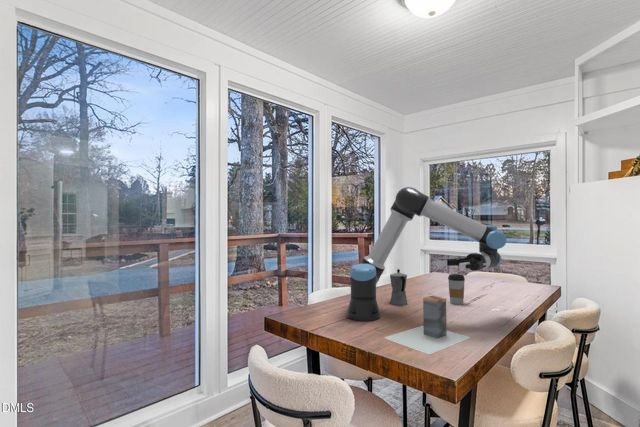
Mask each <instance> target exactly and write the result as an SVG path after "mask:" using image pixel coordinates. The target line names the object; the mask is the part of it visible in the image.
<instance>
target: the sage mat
mask: <svg viewBox="0 0 640 427" xmlns="http://www.w3.org/2000/svg"><path fill="white" fill-rule="evenodd" d="M471 338H472V336H471V337H470V336H467V335H463V334H460V333H456V332H453V331H450V330H447V335H446V336H444V337H441V338H438V339H436V338H433V337H430V336H427V335H424V328H423V325H420V326H417V327H413V328H410V329H407V330H404V331H400V332H397V333H394V334H391V335H388V336H387V335H386V336H385V337H383V339H384V340H388V341H390V342H393V343H396V344H399V345H401V346H404V347H407V348H410V349H412V350H415V351H418V352H421V353H423V354H427V355H432V354H434V353H436V352H440V351H442V350H445V349H446V348H449V347H452V346H454V345H457V344H459V343H461V342H465V341H467V340H468V339H471Z"/></svg>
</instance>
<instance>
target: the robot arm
mask: <svg viewBox="0 0 640 427" xmlns="http://www.w3.org/2000/svg"><path fill="white" fill-rule="evenodd" d="M394 199H395V200H394V202H393V203H392V205H391V207H390V209H389V210H390V213H391V214H390V215H389V217H388V219H387V221H386V223H385V225H384V226H383V228H382V230H381V232H380V233H379V235H378V236H377V239H376V241H375V243H374V245H373V246H372V248H371V250H370V252H369V254H368V255H366V256H363V259H362V260H361V262H360V263H357V264H353V265H352V266H351V268H350V272H349V274H350V275H349V276H350V299H349V300H350V301H349V304H348V307H347V311H346V317H347V318H349V319H350V320H354V321H358V322H359V321H360V322H363V321H364V322H371V321H375V320H379V319H380V318H381V311H380V308H379V305H378V302H377V301H378V300H377V284H378V282H379V281H380V278H381V277H382V275H383V273H384V271H385V269H386V268H385V262H386V261H387V259H388V258H389V256H390V253H391V252H392V250H393V249H394V247H395V245H396V243H397V241H398V239H399V237H400V236H401V234H402V233H403V230H404V228H405V226H406V224H407V223H408V222H410V221H413V219H414V217H415V215H416V216H418V217H422V216H423V217H426V218H427V219H430V220H431V221H433V222H436V223H438V224H440V225H443V226H444V227H446V228H448V229H451V230H453V231H455V232H457V233H460V234H461V235H463V236H465V237H468V238H470V239H471V240H473V241H474V240H475V242H478V246H479V247H478V252H473V253H469V254H467V255H466V256H465V257H463V258H462V257H461V258H458V257H455V258H441V259H440V260H436V268H437V269H439V268H440V269H441V268H447V267H450V266H452V267H453V266H454V267H455V266H457V267H459V268H458V270H459V271H466V270H470V271H482V270H485V269H486V270H487V269H492V268H493V269H494V268H496V267H498V266H500V265H501V264H502V256H501V254H500V253H499V251H498V250H499V249H502V248H503V247H505V245H506V243H507V237H506V235H505V233H504V232H502V231H500V230H498V226H496V225H488V224H487V225H486V224H484V223H481V222H479V221H477V220H475V219H472V218H470V217H468V216H466V215H464V214H461V213H460V212H457V211H455V210H453V209H452V208H449V207H447V206H445V205H442V204H440V203H438V202H436V201H433V200H432V199H431V197H430V196H428V195H426V194H424V193H423V192H421V191H419V190H418V189H416V188H415V187H411V186H407V187H402V188H401V189H399V190H398V192H397V193H396V196H395V198H394Z"/></svg>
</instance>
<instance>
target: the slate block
mask: <svg viewBox="0 0 640 427" xmlns="http://www.w3.org/2000/svg"><path fill="white" fill-rule="evenodd" d="M422 303H423V304H422V309H423V312H422V313H423V316H422V317H423V321H422V322H423V323H422V324H423V325H422V326H423V328H424V335H427V336H430V337H433V338H436V339H438V338H441V337H444V336H446V335H447V331H448V329H447V297H442V296H437V295H429V296H425V297H422Z"/></svg>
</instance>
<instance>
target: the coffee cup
mask: <svg viewBox="0 0 640 427" xmlns="http://www.w3.org/2000/svg"><path fill="white" fill-rule="evenodd" d="M447 277H448V278H447V279H448V294H449V302H450V304H451V305H454V306H463V304H464V298H465V281H466V279H465V275H463V274H460V273H459V274H458V273H450V274H448V276H447Z"/></svg>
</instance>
